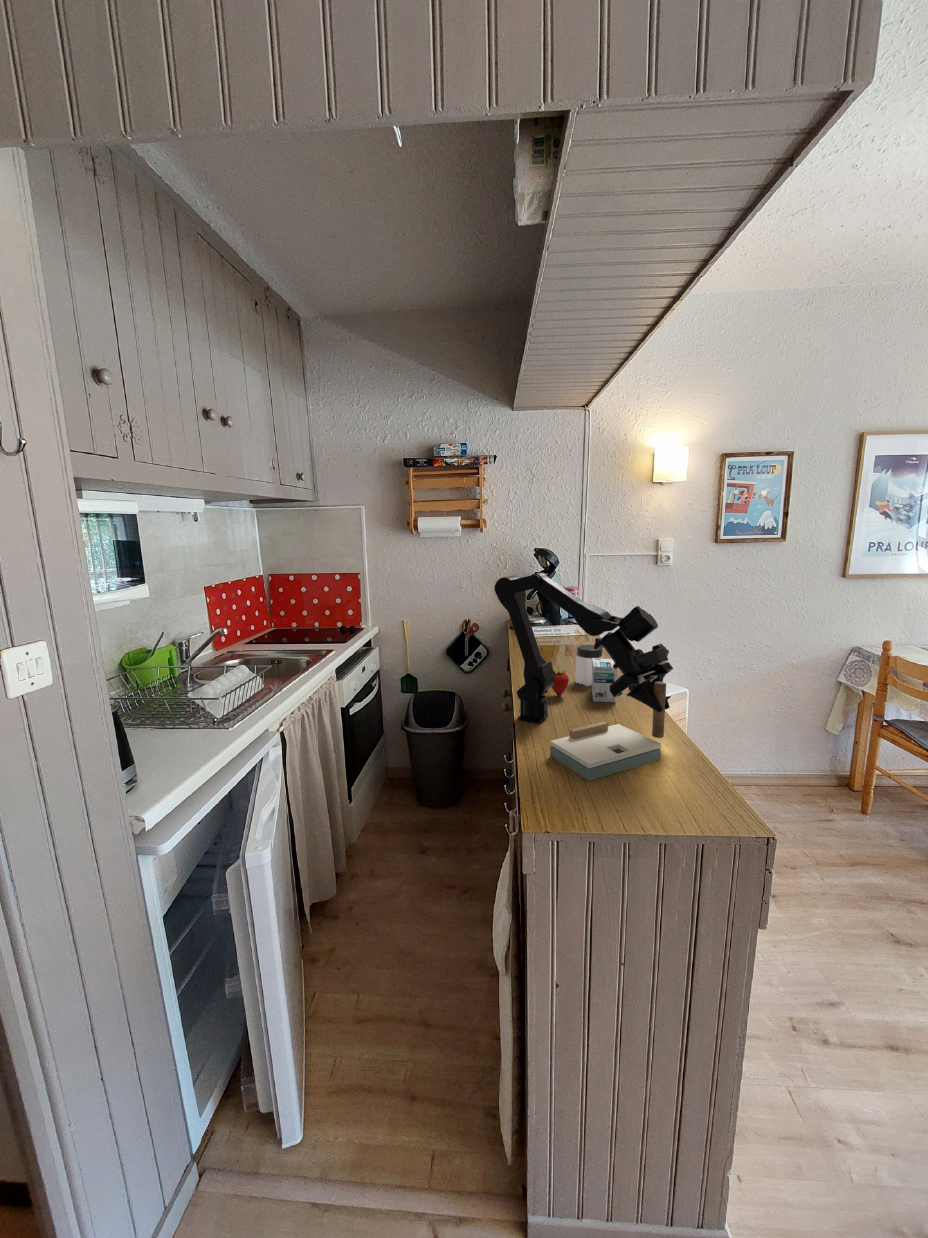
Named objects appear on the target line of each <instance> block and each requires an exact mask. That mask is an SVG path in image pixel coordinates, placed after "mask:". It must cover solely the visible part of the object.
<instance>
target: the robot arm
mask: <svg viewBox="0 0 928 1238" xmlns="http://www.w3.org/2000/svg"><path fill="white" fill-rule="evenodd" d="M530 590H535V591H536V592H538V593H540V594H541V595H542V596H544V597H545V598H547V600H549V601H551V602H552V603H553V604H555V605H557V607H559V608H561V609H562V610H564V611H565V612H566V613H568V614H569V615H570V616H571V617H572V618H573V620H575V623H577V625H578V626H579V627H580V628H581V629H582V631H584V633H586V634H587V635H588V636H591V637H597V636H601V635H602V634H604V633H606V632H607V633H606V634H605V635H603V636H602V637H601V638H600V637H597V638H594V639H595V640H594V644H593V645H594V649H602V650H603V649H604V650H605V651H606V653H607V654H608V655H609V657H610V659H612V660H613V661H614V663H615V664H614V665H613V667H614V669H617V670H619V671H620V672H621V673H622V675H621V676H619V677H618V678H617V679H616V681H615V682H613V683H612V684H611V685H610V687H609V691H610V693H611V694H612V696H613V697H614V698H615V697H616V698H617V697H621V696H622V695H623V692H624V691H625V690H626V689H627V688H628V691H629V692H628V693H626V697H630V698H632V699H634V700H637V701H638V702H639V703H640V702H641V703H642V704H644V705H646V706H647V707H648V708H650V709H652V710H653V709H654V710H656V711H657V712H662V711H663V708H662V707H661V705H660V703H659V701H658V700H657V698H656V697H655V695H654V683H655V682H664V678H665V677H666V675H667V674H669V673H671V671H672V670H674V667H673V666H672V665H671V664H670V662H669V658H668V655H669V653H670V651H669V649H667V647H666V646H664V645H663V644H662V643H658V644H655V645H653V646H652V649H651V650H650V651H647V652H644V651H643V650H642V649H641V648H637V649H636V648H635V647H634V646H633V644H632V643H631V642H637V643H639V642H641V641H642V640H644V639H646V637H647V636H649V635H651V634H652V632H654V631H655V630H656V629H658V627H659V624H658V622H657V621H656V619H655V618H654V616H653V615H652V614H651V613H648V611H646V610H644V609H643V608H642V607H641V606H639V605H636V606H635V607H633V608H632V609H631V610H630V611H629V612H628V613H627V614H626V615H624V617H620V616H615V615H612V614H611V613H610V612H609V611H607V610H605V609H604V608H601V607H599V606H596V605H594V604H591V603H589V602H588V603H587V602H586V601H583V600H582V599H580V598H579V597H577V596H575V595H574V594H573V593H571V592H570V591H569V590H567V589H566V588H564V587H563V586H561V585H560V584H559V583H557V582H556V581H554V580H552V579H551V578H550V577H548V576H547V574H546V573H544V572H537V573H531V575H527V576H526V575H525V576H523V577H520V576H517V575H510V576H504V577H500V578H499V579H497V580H496V582H495V584H494V592H495V595H496V597H497V599H498V601H499V603H500V604H501V606H503V608H505V610H506V612H507V613H508V615H509V618H510V622H511V626H512V628H513V631H514V634H515V638H516V640H517V644H518V647H519V650H520V653H521V656H522V659H523V662H524V663H523V665H524V666H523V679H524V680H523V681H524V685H522V686H521V687H520V688H518V689H517V690H516V695H517V698H518V699H519V702H520V704H519V705H520V706H519V708H520V709H519V710H520V711H519V713H520V714H519V715H518V716H517V720H521V721H526V722H530V723H531V722H532V723H537V724H541V723H542V722H543V721H544V720H545V719H546V718H548V716H549V712H548V711H549V708H548V707H549V704H548V703H549V702H548V701H547V695H546V694H548V692H549V689H551V688H552V686H553V684H554V682H555V678H554V676H555V675H556V674H555V672H554V671H553V670H554V668H553V663H552V661H551V660H548V661H546V660H545V659H544V658H543V657H542V654H541V651H540V648H539V644H538V642H537V639H536V636H535V633H534V629H533V626H532V624H531V621H530V617H529V615H528V611H527V609H526V600H527V599H526V597H527V593H526V591H530ZM615 629H616V630H615ZM613 630H614V631H613ZM612 631H613V632H612ZM668 709H670V704H669V701H668V698H667V696H666V700H665V710H668Z"/></svg>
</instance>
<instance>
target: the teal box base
mask: <svg viewBox="0 0 928 1238" xmlns="http://www.w3.org/2000/svg"><path fill="white" fill-rule="evenodd" d="M549 746H550V747H549V748H550V749H549V751H550V752H549V755H550V758H552V759H553V760H555V761H557V762H558V763H560V764H561V765H563V766H565V767H566V768H568V769H569V770H570V771H572V772H574V773H576V774H577V775H579V776H581V777H582V778H583V779H585V780H586V781H588V782H590V781H593V780H597V779H601V778H603V777H607V776H610V775H613V774H617V773H621V772H623V771H627V770H630V769H633V768H636V767H640V766H643V765H647V764H649V763H653V762H657V761H659V760H661V757H662V749H661V748H659V749H655V750H652V751H648V752H645V753H641V754H638V755H634V756H631V757H628V758H624V759H621V760H617V761H614V762H610V763H607V764H603V765H600V766H596V767H593V768H587V767H586V766H584V765H582V764H581V763H579V762H577V761H576V760H574V759H572V758H571V757H569V756H568V755H566V754H564V753H563V752H561V751H559V750H558V749H556V748H554V747H553V746H551V745H549ZM612 751H613V752H615V753H617V754H619V753H622V752H624V751H622V750H620V749H615V750H612Z"/></svg>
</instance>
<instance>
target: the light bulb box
mask: <svg viewBox="0 0 928 1238" xmlns="http://www.w3.org/2000/svg"><path fill="white" fill-rule="evenodd" d="M614 664H615V662H614V661H613V660H612V658H603V659H598V658H592V686H591V693H592V694H591V695H592V701H593V702H599V703H617V697H615V698H614V697H613V696H612V694H611V693H610V691H609V687H610V685H611V684H612V683H613V682H615V681H616V680H617V679H618V678H617V676H618V675H617V672H618V668H617V669H614V667H613V665H614Z"/></svg>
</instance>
